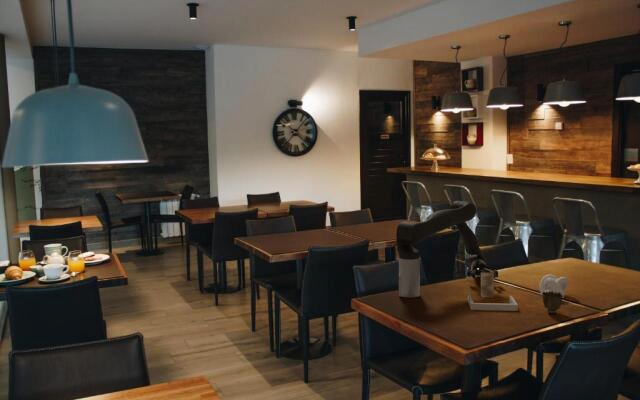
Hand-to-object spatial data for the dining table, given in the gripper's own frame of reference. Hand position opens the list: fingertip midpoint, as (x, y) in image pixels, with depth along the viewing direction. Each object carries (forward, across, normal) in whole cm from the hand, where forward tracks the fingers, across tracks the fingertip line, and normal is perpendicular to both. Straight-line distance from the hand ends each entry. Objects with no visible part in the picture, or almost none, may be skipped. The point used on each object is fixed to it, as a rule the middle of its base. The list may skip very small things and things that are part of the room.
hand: (484, 276), depth 265 cm
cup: (+34, +22, +6) cm, 41 cm away
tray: (+25, 0, +6) cm, 26 cm away
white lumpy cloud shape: (+9, +28, +6) cm, 30 cm away
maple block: (+11, 0, +6) cm, 12 cm away
